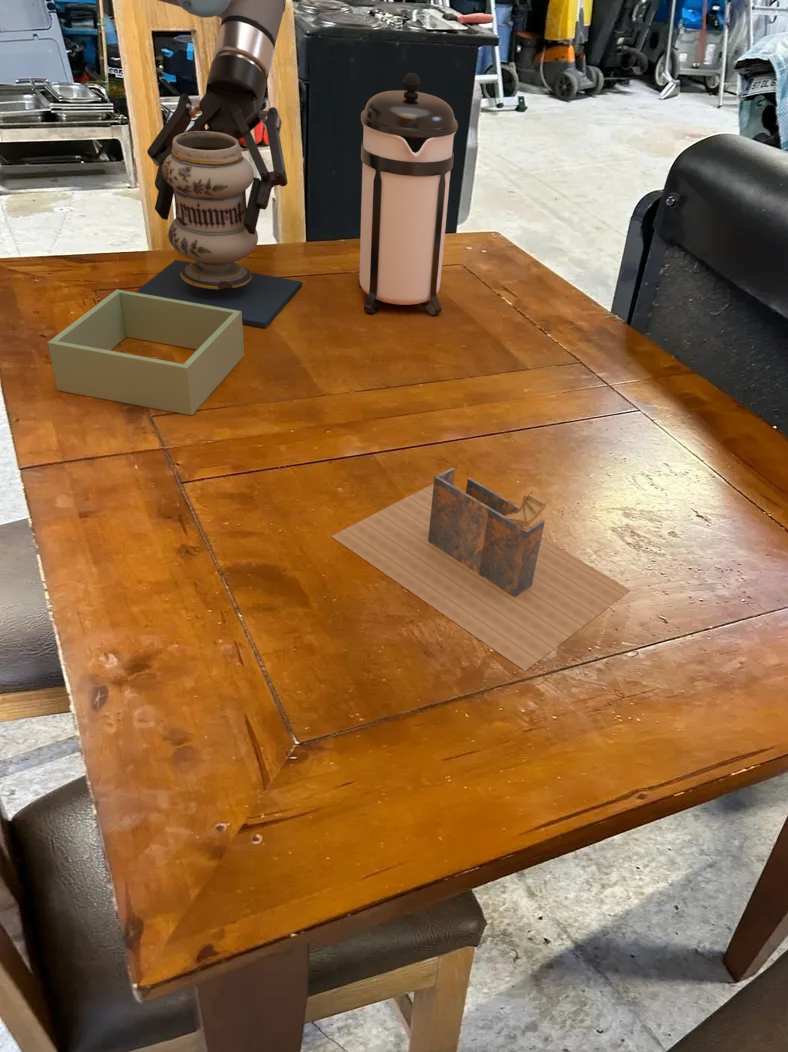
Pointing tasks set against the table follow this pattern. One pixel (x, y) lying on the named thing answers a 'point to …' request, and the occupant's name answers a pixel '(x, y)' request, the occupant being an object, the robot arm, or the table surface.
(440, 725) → the table surface
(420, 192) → the coffee press
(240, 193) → the apothecary jar
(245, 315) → the mat
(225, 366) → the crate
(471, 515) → the architectural model on board
